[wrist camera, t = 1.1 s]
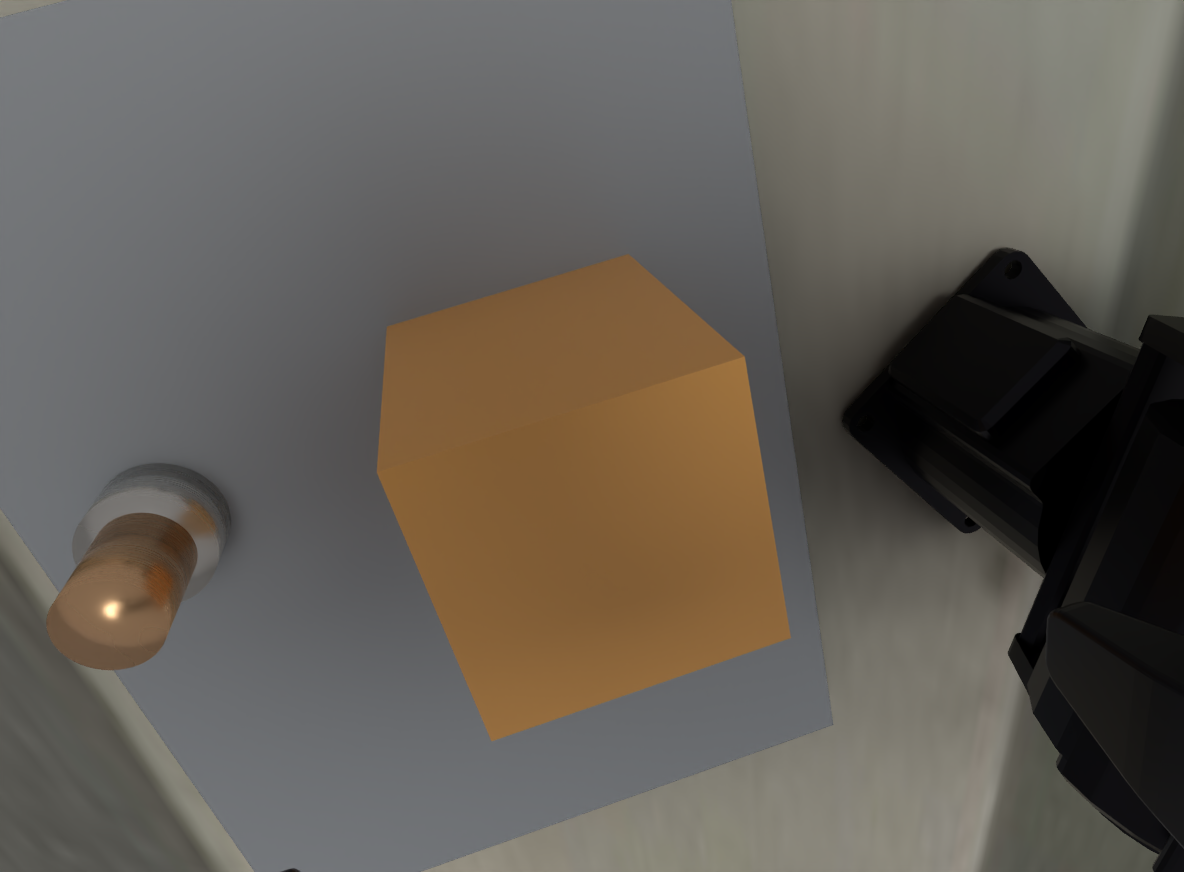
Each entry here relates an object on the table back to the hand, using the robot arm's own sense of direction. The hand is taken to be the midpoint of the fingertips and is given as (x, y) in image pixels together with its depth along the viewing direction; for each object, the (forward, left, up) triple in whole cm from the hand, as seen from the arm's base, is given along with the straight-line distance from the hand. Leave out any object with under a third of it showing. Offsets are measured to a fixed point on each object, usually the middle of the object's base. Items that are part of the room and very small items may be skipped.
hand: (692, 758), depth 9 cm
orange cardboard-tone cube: (0, 0, -11) cm, 11 cm away
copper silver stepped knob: (+5, +8, -11) cm, 14 cm away
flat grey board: (0, +4, -13) cm, 13 cm away
